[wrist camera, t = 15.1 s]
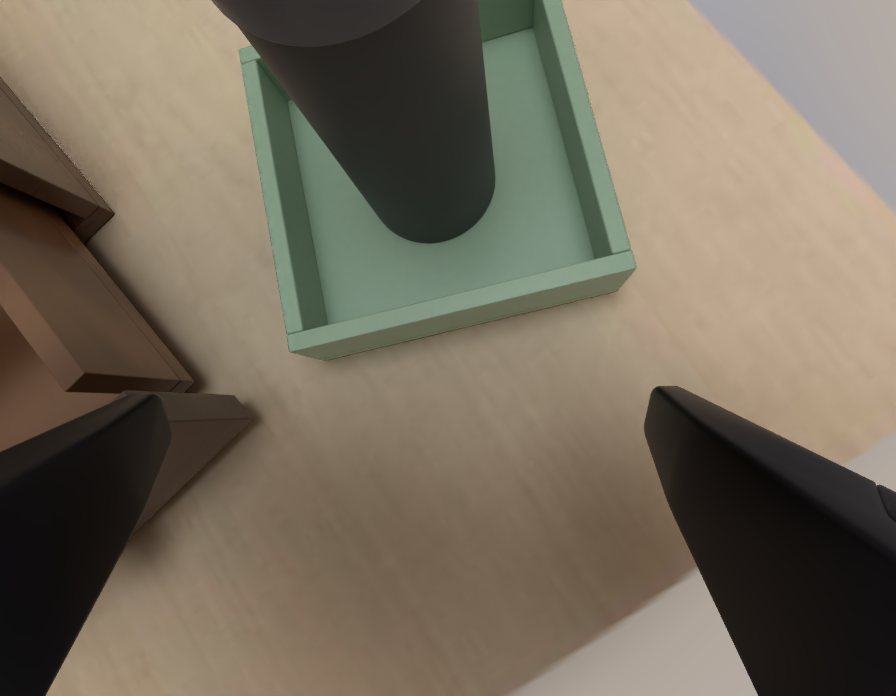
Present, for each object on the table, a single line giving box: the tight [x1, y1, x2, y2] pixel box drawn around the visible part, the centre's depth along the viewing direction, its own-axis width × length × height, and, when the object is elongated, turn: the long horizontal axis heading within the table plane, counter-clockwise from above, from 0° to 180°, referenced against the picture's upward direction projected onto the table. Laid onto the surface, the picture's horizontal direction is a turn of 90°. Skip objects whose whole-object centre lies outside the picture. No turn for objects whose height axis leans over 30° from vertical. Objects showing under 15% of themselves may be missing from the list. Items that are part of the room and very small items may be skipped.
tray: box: [239, 0, 636, 361], centre depth 18 cm, size 11×11×3 cm
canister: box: [212, 0, 496, 243], centre depth 13 cm, size 5×5×12 cm
